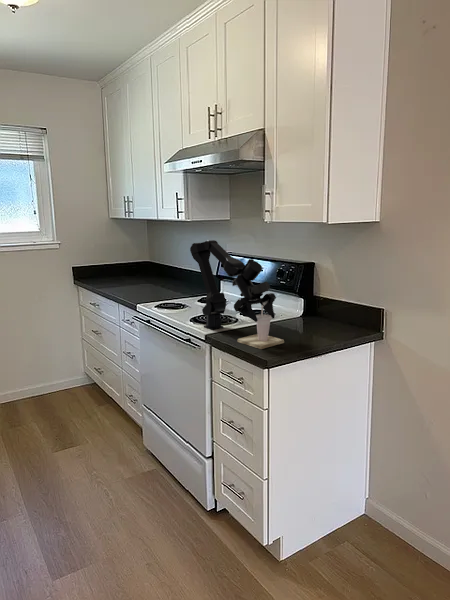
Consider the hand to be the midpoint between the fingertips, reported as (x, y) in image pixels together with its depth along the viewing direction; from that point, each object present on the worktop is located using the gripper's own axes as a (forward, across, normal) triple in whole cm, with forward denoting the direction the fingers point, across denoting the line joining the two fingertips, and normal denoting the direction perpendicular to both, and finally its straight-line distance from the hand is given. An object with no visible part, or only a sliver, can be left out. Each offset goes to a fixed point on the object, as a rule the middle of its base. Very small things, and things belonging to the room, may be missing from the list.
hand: (265, 319), depth 177 cm
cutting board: (+5, 0, +9) cm, 10 cm away
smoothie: (+5, 0, +7) cm, 9 cm away
